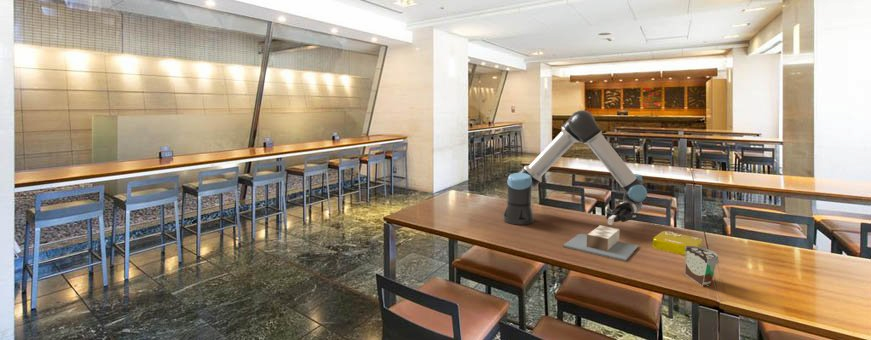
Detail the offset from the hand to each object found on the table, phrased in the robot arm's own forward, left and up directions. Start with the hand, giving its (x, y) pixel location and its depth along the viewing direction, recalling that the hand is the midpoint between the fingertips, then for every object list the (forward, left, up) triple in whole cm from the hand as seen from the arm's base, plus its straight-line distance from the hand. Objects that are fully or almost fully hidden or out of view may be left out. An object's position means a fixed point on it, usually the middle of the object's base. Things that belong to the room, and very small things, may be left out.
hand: (609, 221), depth 166 cm
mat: (0, -9, -9) cm, 13 cm away
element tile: (+24, +9, -9) cm, 27 cm away
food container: (+36, -19, -9) cm, 42 cm away
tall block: (0, +1, -5) cm, 5 cm away
